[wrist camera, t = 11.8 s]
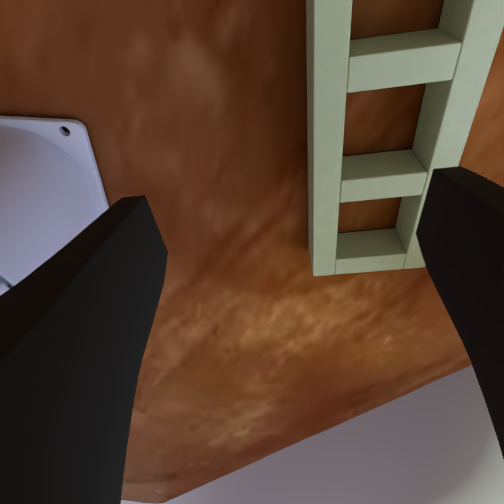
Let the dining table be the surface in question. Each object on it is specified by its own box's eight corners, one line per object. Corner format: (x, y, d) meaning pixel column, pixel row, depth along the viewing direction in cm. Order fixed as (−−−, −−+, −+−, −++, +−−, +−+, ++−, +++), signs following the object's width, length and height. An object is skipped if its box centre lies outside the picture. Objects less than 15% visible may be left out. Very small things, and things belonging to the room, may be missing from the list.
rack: (308, 250, 24) (313, 276, 22) (304, -146, 12) (313, -159, 10) (412, 241, 24) (425, 267, 22) (527, -186, 11) (580, -208, 9)
